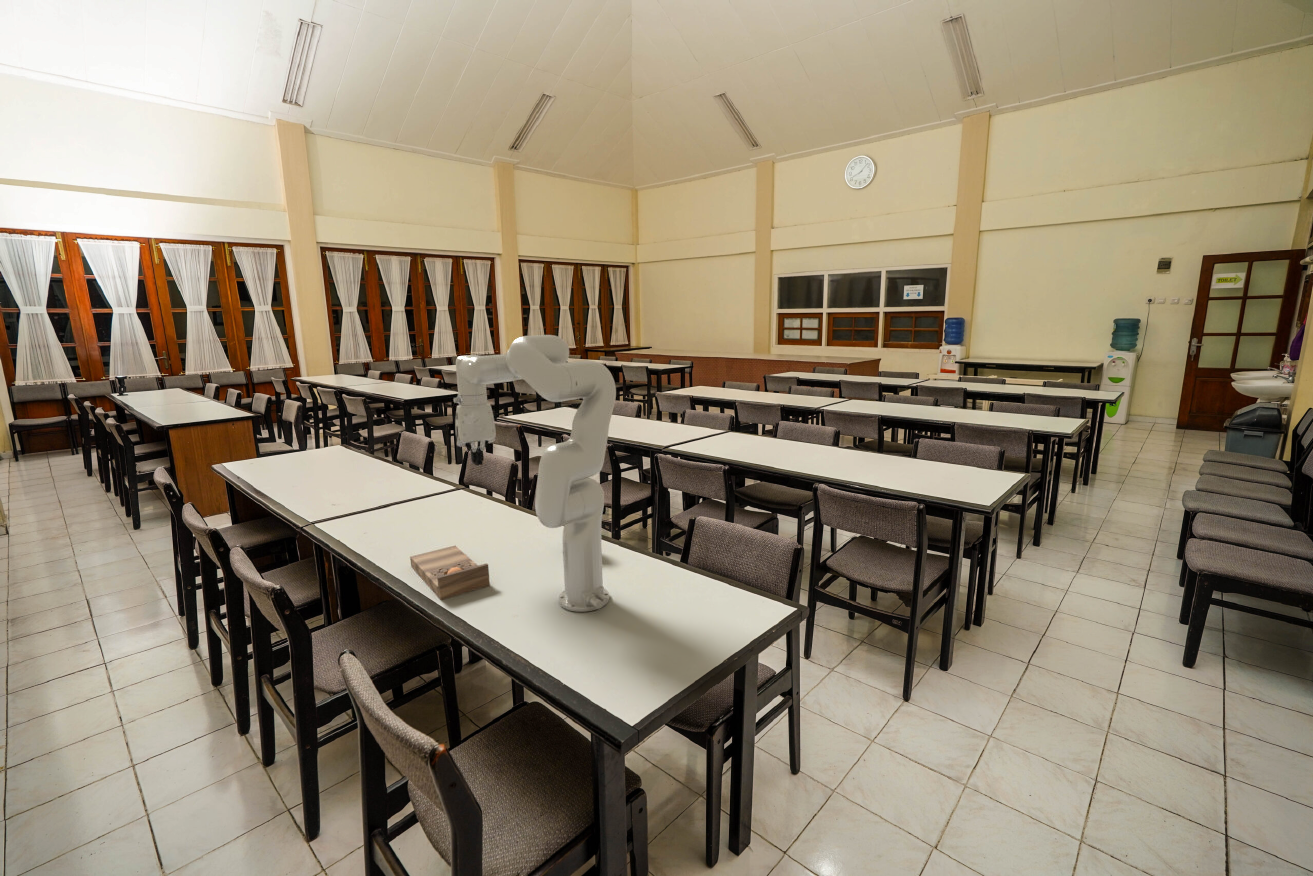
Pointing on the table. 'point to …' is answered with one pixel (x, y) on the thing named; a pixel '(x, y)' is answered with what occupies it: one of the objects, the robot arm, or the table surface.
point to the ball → (454, 570)
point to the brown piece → (452, 584)
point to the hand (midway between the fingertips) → (477, 464)
